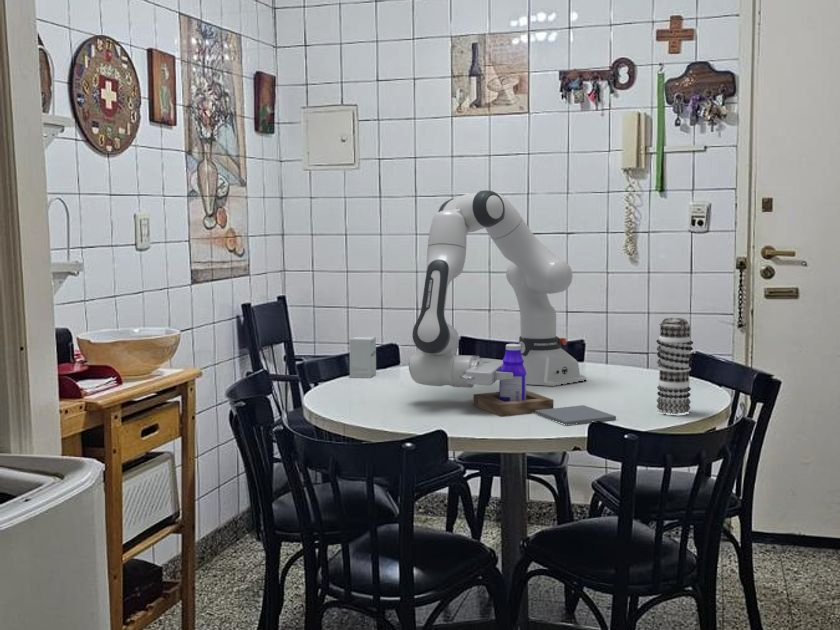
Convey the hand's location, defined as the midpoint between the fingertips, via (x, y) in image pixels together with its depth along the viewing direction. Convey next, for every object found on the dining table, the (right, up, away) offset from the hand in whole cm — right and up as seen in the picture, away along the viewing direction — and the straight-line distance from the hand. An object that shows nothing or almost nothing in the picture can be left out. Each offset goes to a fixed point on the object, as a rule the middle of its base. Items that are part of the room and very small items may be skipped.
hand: (516, 373), depth 256 cm
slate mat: (+14, -11, -11) cm, 21 cm away
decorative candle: (+41, -10, -7) cm, 43 cm away
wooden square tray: (-1, -9, +1) cm, 10 cm away
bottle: (-1, -10, +1) cm, 10 cm away
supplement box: (-45, -4, +53) cm, 69 cm away
